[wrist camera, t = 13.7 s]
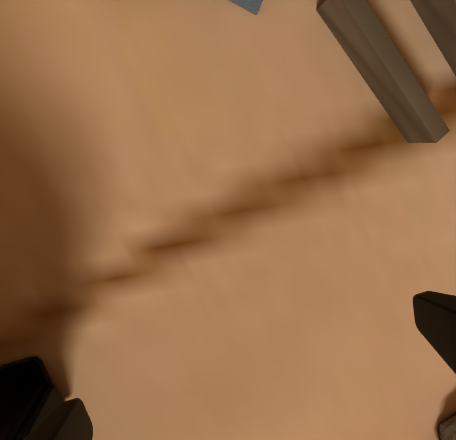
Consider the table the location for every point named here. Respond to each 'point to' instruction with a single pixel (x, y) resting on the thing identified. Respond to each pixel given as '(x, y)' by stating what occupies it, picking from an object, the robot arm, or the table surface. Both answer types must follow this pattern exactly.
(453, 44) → the rack
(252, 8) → the mat
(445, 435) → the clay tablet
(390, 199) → the table surface
